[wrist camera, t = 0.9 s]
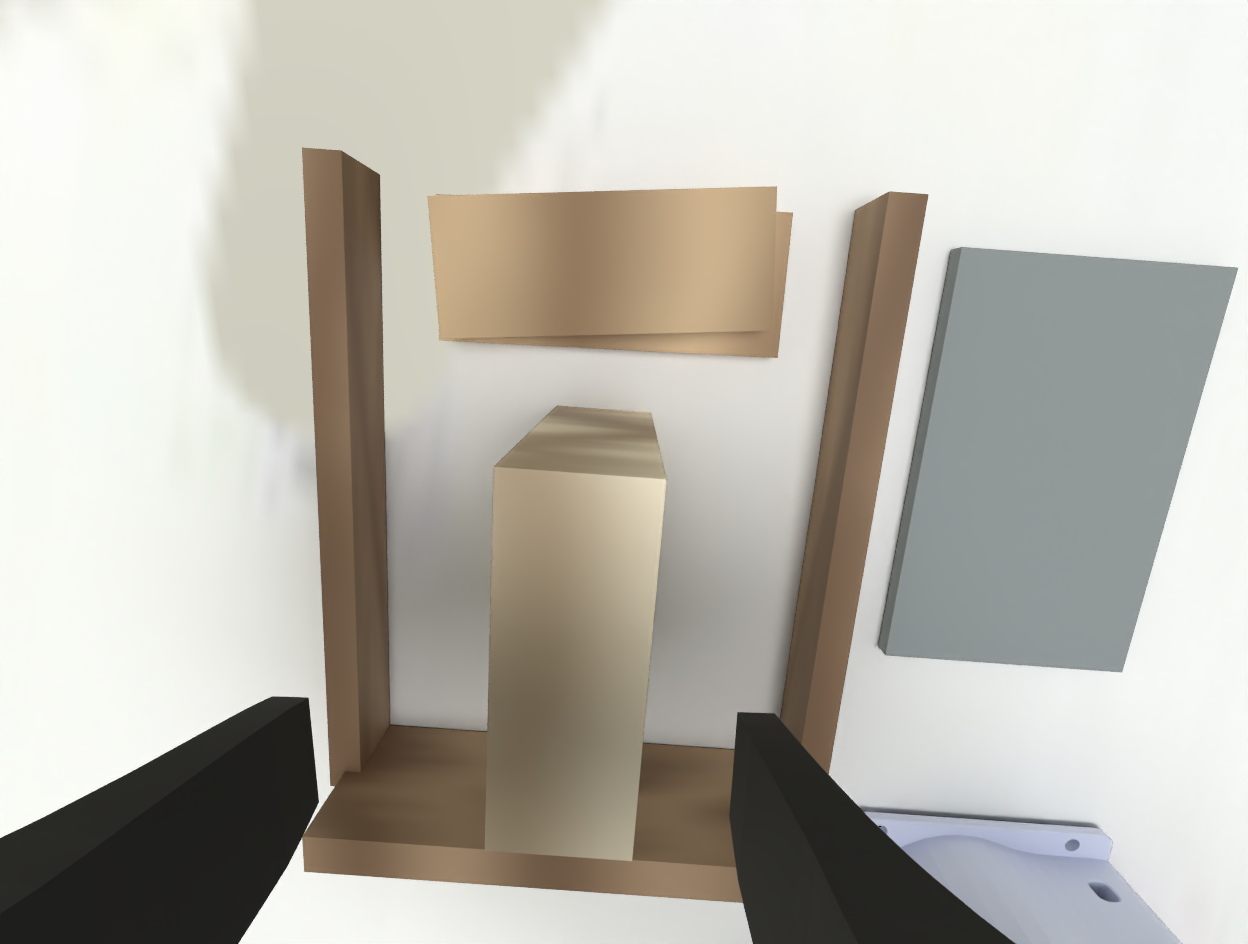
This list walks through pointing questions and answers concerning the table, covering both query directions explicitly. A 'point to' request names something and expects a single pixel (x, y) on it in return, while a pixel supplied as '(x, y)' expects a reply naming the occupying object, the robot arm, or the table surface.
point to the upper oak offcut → (604, 262)
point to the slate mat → (1048, 454)
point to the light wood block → (572, 632)
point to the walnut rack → (457, 759)
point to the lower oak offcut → (688, 342)
